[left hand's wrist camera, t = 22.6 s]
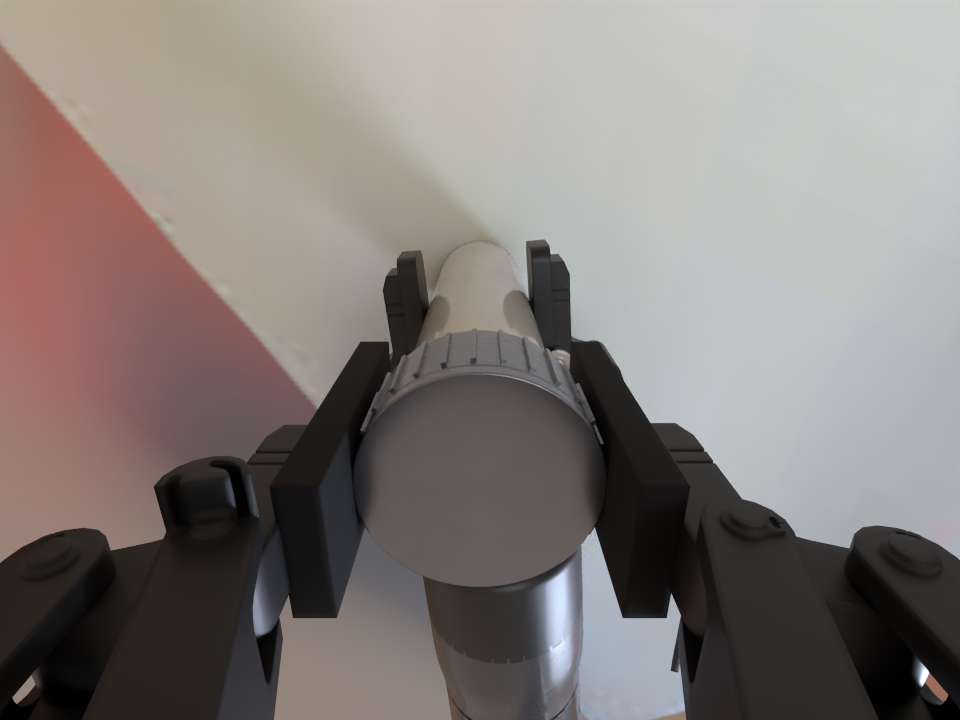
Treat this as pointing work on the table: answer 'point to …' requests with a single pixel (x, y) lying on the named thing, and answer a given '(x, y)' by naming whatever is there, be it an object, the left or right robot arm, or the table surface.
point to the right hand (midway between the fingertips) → (472, 251)
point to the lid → (479, 461)
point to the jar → (479, 295)
